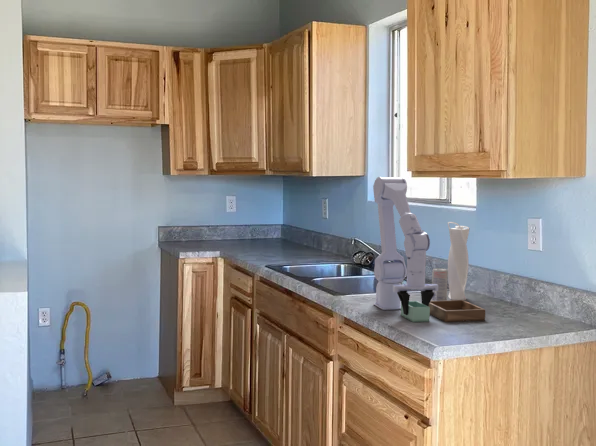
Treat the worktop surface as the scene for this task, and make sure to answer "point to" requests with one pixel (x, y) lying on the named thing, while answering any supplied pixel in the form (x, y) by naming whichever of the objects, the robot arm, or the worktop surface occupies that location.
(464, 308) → the big crate
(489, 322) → the worktop surface
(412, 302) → the small crate
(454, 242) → the twisted white candle
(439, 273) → the energy drink
